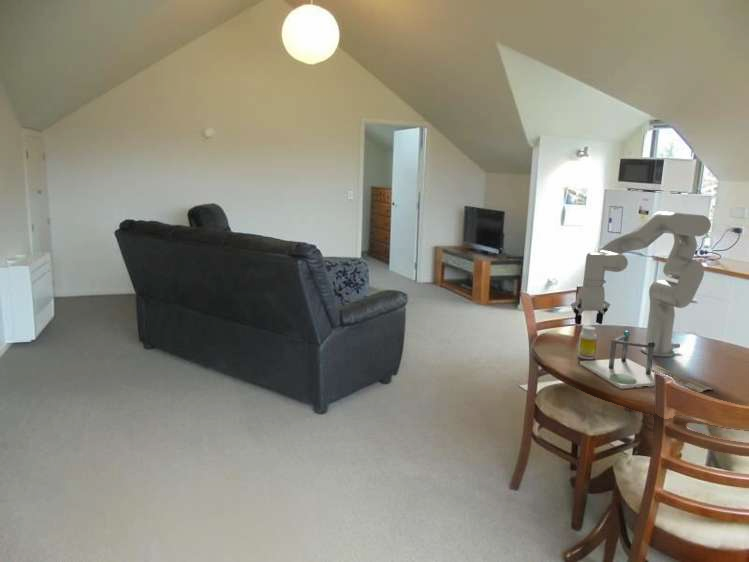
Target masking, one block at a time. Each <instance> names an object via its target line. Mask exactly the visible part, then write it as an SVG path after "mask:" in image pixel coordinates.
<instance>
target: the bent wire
mask: <svg viewBox="0 0 749 562" xmlns="http://www.w3.org/2000/svg"><path fill="white" fill-rule="evenodd" d="M630 336H631V332H630V331H629V330H624V331H623V335H620V336H619V337H616V338H615V339H614V338H613V339H611V341H610V343H611V344H610V353H609V369H614V361H615V359H616V350H617V345H622V348H621V349H622V350H621V357H620V359H621V361H622V362H626V358H627V356H628V355H627V354H628V347H629V346H632V347H639V348H641V347H645V348H648V354H647V357H646V366H645V368H646V373H645V374H647V375H651V368H652V367H653V366H652V365H653V360H654V359H653V358H654V356H653V352H654V347H655V343H654V342H652V341H651V342H649V343H648V345H647V344H646V343H639V342H632V341H631V342H630V341H629V338H630ZM627 359H628V358H627Z"/></svg>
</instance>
